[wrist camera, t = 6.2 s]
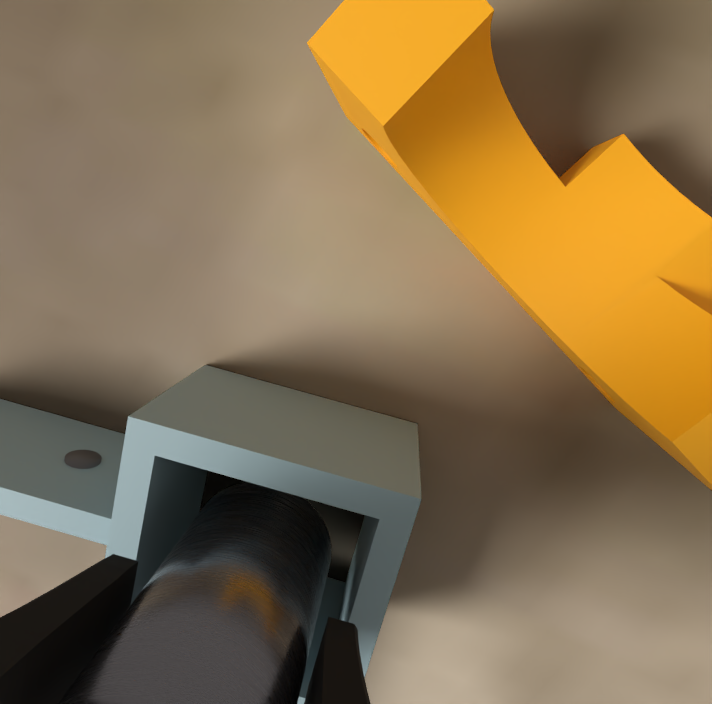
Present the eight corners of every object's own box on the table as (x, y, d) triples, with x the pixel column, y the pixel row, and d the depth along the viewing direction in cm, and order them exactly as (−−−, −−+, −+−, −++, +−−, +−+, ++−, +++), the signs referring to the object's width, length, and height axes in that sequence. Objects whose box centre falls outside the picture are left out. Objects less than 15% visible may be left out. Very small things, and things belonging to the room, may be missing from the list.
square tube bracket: (313, 764, 21) (285, 926, 16) (-64, 651, 21) (-203, 775, 16) (417, 423, 17) (421, 499, 12) (-36, 297, 18) (-202, 323, 13)
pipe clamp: (732, 311, 16) (944, 364, 10) (612, 405, 17) (734, 509, 11) (458, -3, 15) (497, -175, 8) (347, 117, 16) (307, 43, 9)
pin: (308, 626, 16) (230, 931, 9) (179, 581, 16) (4, 848, 9) (350, 509, 15) (299, 751, 8) (212, 462, 15) (45, 659, 8)
